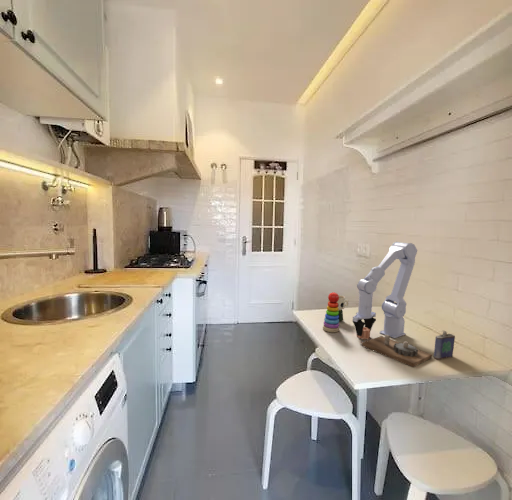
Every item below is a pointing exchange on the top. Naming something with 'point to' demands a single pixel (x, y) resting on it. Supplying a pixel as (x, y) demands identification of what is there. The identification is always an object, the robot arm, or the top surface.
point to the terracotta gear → (365, 333)
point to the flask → (444, 346)
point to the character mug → (341, 306)
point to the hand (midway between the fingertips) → (363, 334)
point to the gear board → (397, 350)
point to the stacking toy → (332, 314)
